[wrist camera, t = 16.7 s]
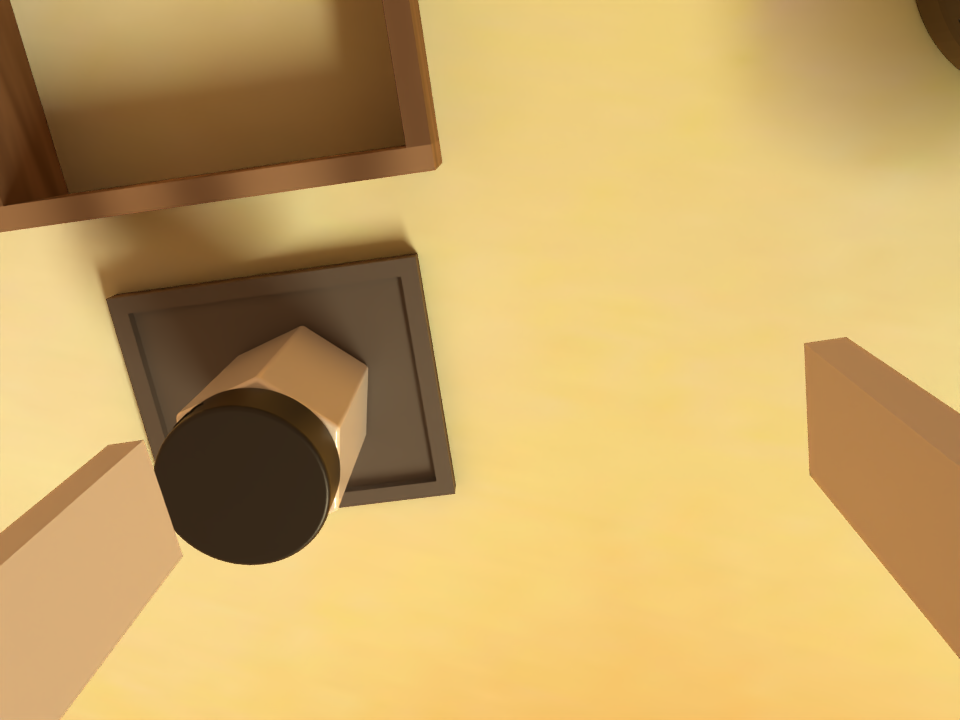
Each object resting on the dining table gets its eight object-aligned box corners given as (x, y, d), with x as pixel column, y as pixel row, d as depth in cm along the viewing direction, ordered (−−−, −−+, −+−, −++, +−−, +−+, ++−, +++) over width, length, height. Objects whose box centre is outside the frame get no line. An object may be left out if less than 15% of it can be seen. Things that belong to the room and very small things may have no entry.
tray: (417, 253, 43) (415, 256, 42) (455, 484, 48) (454, 493, 47) (116, 294, 44) (106, 299, 43) (182, 517, 49) (174, 527, 48)
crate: (387, -206, 36) (368, -265, 31) (442, 162, 42) (435, 169, 36) (-54, -130, 37) (-152, -175, 32) (54, 218, 43) (-13, 233, 37)
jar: (233, 319, 44) (143, 390, 32) (372, 329, 44) (331, 404, 33) (237, 457, 47) (155, 568, 35) (367, 467, 47) (329, 580, 35)
